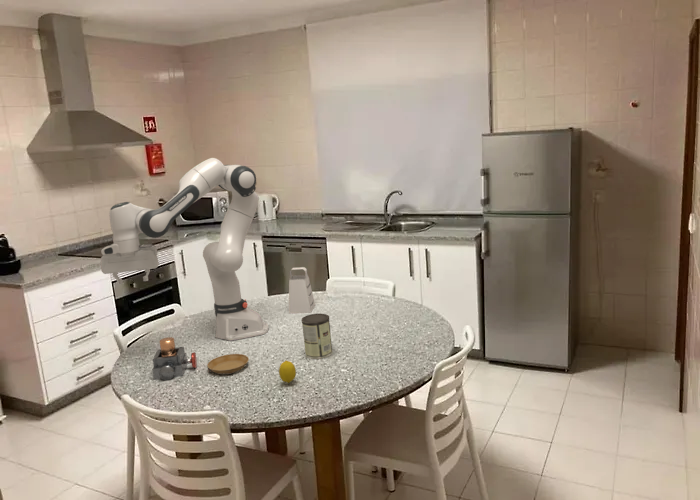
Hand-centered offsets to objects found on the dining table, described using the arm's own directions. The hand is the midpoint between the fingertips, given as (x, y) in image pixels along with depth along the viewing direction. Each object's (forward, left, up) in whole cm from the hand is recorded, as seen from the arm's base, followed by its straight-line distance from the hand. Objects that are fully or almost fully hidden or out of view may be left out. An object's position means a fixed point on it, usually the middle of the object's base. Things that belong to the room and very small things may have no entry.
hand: (133, 282), depth 213 cm
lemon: (-54, +39, -31) cm, 74 cm away
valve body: (-14, +15, -31) cm, 37 cm away
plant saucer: (-33, +19, -32) cm, 50 cm away
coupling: (-12, +15, -27) cm, 33 cm away
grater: (-63, -39, -31) cm, 81 cm away
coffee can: (-66, +17, -31) cm, 75 cm away
